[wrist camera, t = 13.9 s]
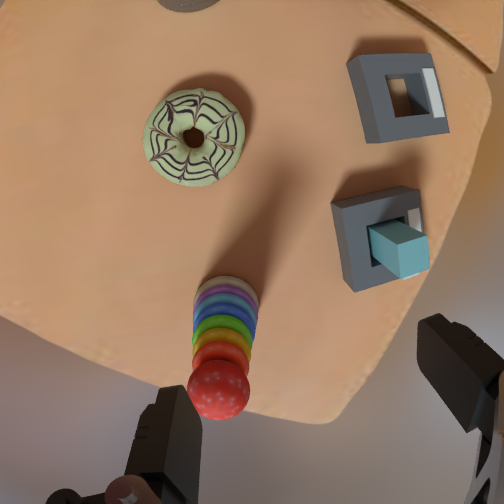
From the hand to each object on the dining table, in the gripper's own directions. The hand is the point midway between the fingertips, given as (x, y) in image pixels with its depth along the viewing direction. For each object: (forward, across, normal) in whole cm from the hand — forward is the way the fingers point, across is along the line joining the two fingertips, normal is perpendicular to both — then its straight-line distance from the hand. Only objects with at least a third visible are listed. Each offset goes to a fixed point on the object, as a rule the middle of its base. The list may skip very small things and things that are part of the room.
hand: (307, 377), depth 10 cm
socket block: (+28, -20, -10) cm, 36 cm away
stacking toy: (+28, +6, +10) cm, 31 cm away
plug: (+28, -14, +6) cm, 32 cm away
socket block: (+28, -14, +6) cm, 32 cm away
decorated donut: (+29, +4, -10) cm, 31 cm away
